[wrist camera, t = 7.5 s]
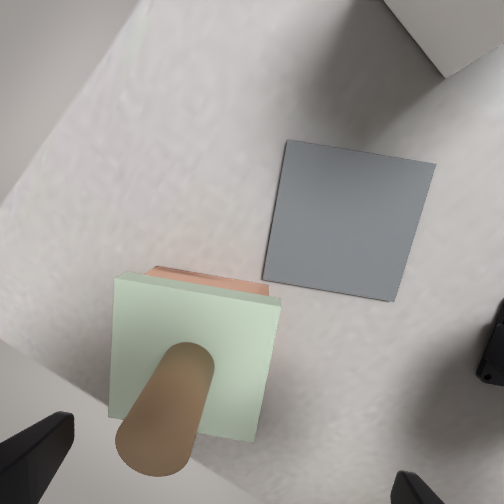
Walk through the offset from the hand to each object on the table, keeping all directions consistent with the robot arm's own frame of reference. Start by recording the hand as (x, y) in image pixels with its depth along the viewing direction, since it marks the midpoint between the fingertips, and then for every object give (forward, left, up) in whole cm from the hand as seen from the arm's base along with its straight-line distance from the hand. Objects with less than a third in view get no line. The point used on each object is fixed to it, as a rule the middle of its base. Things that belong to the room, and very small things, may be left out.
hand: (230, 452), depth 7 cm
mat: (-5, -6, -12) cm, 14 cm away
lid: (+3, +3, -9) cm, 10 cm away
